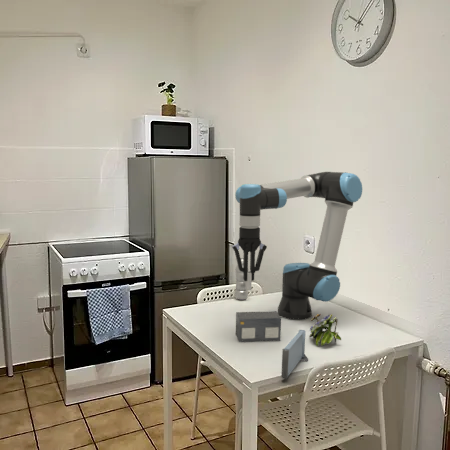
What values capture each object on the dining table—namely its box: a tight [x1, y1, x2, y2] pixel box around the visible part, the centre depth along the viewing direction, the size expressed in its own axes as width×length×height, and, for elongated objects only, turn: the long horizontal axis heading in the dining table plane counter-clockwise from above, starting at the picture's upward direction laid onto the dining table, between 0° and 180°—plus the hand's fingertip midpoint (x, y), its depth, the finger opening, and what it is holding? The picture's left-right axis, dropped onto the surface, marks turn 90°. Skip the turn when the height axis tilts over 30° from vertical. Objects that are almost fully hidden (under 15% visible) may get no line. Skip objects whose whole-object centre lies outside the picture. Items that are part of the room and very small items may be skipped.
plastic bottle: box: [234, 257, 249, 301], centre depth 238 cm, size 6×7×20 cm
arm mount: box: [298, 353, 309, 363], centre depth 171 cm, size 4×4×1 cm
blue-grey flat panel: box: [281, 329, 307, 379], centre depth 162 cm, size 21×2×9 cm, turn 155°
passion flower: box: [308, 313, 342, 347], centre depth 187 cm, size 13×12×14 cm
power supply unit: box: [235, 310, 282, 343], centre depth 189 cm, size 16×9×9 cm, turn 98°
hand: (248, 289), depth 183 cm, fingers closed
